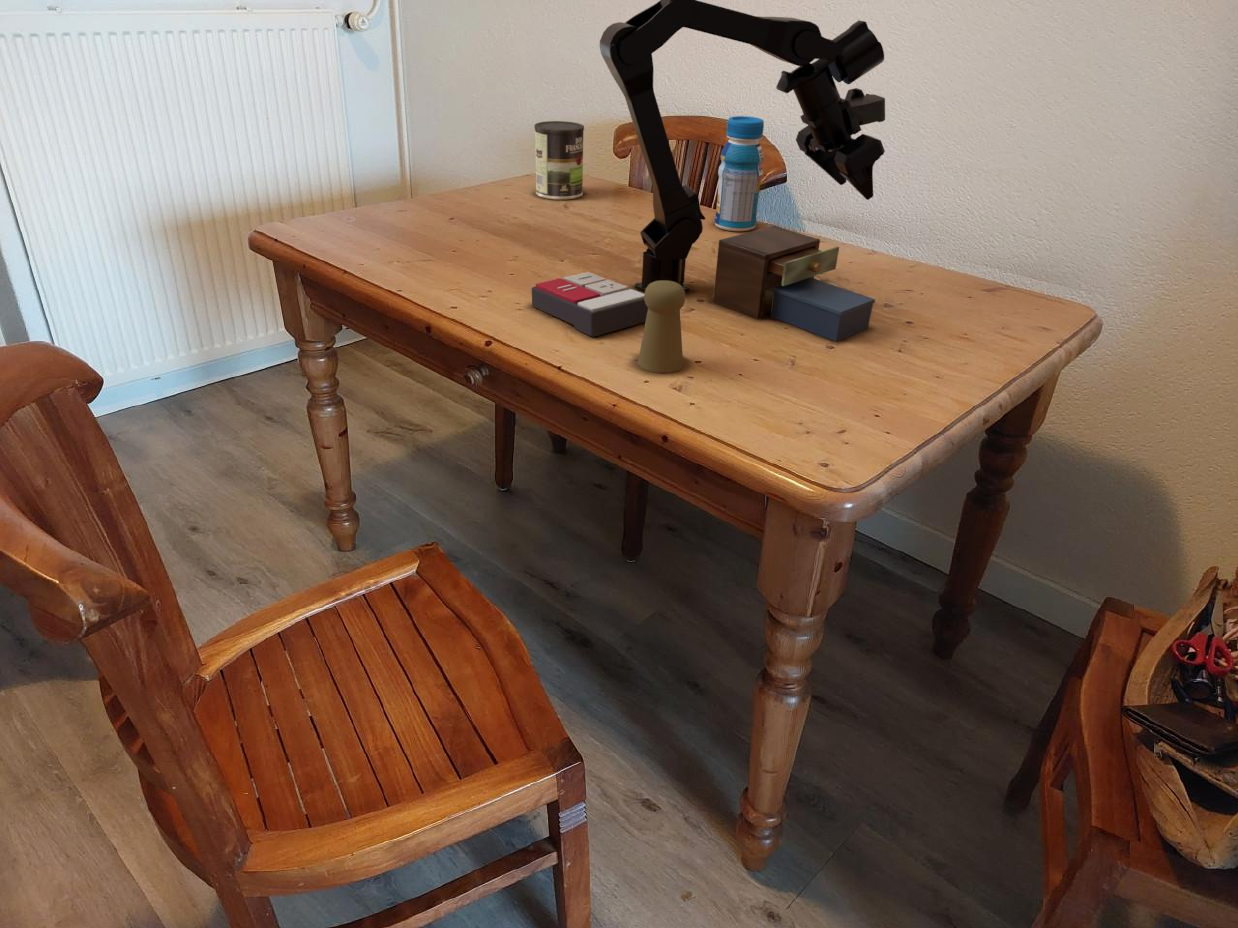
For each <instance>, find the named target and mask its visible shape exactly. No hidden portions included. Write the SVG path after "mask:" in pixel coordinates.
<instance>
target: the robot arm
mask: <svg viewBox="0 0 1238 928" xmlns="http://www.w3.org/2000/svg"><path fill="white" fill-rule="evenodd" d="M683 28H686V29H689V30H694V31H698V32H701V33H706V34H709V35H713V36H717V37H721V38H725V39H728V40H733V41H736V42H740V43H744V44H748V45H750V46H751V47H754V48H756V49H758V50H759V51H761V52H763V53H764V54H767V55H769V56H771V57H773V58H775V59H777V60H780V61H781V62H785V63H787V64H791V65H794V66H797V67H796V68H795V69H793V70H792V71H786V70H781V73H780V78H779V79H778V82H777V84H776V87H775V89H776V90H777V91H780V92H782V93H785V94H789V93H791V92H792V91H793V92H794V95H795V97H796V100H797V101H798V104H799V107H800V109H801V111H802V114H801V115H800V119H801V122H802V123H803V124H805V125H806V126H805V127H803V128H801V130H799V131H798V132H797V135H796V138H795V141H796V144H797V146H798V148H799V150H800V151H801V152H803V153H804V155H805V156H806V157H808V158H809V159H810V160H811V161H812V162H813V163H815V165H817V167H819V168H820V169H822V170H823V171H824V172H825V173H826V174H827V175H828V176H829V177H831V178H832V179H833V180H834V181H835V182H836V183H837V184H838V185H840V186H843V185H845V184H846V183H847V182H848V183H849V184H850V185H851V186H852V187H853V188H854V189H855V190H856V191H857V192H858V193H859V194H860V195H861V196H862V197H863V198H864V199H865V200H867V201H869V200H870V199H872V198H873V197H874V177H873V175H874V173H873V172H874V165H875V163H876V162H877V161H878V160H880V159H881V157H882V156H883V155H885V151H886V150H885V148H884V144H883V142H882V140H881V139H878V138H876V137H874V136H872V135H868V134H865V133H862V134H860V135H859V136H856V138H853V137H852V136H853V135H857V134H858V133H860V132H861V131H862V127H861V126H865V125H870V124H872V123H882V122H884V121H886V98H885V97H883V96H880V95H877V94H873V93H872V94H870V93H864V91H863V89H860V88H857V87H855V88H851V89H848V90H847V92H846V95H845V97H844V98H842V97H841V95H840V93H839V89H838V88H837V85H836V83H835V81H836V82H837V83H841V82H843V83H844V84H846V85H851V84H852V83H854V82H855V81H857V80H858V79H860V78H862V77H863V76H864V75H866V74H867V73H869V72H870V71H871V70H873V69H875V68H876V67H878V66H879V65H880V64H882V63H883V62H884V60H885V51H884V47H883V45H882V43H881V41H879V39H878V38H877V37H876V34H874V33H873V31H872V30H871V29H870V28H869V27H868V23H867V21H864V20H857V21H856V22H854V23H853V24H851V25H850V26H849V27H848V28H847V29H846V30H845V31H843V32H842V33H840V34H839V35H837V36H836V37H835V38H833V39H830V38H826V37H824V36H822V33H821V29H820V27H819V26H818V24H816V23H814V22H812V21H810V20H804V19H799V18H795V17H787V16H757V15H752V14H749V13H745V12H741V11H739V10H738V11H737V10H734V9H730V8H726V7H723V6H720V5H715V4H713V3H708V2H704V1H700V0H658V1H657V2H656V3H654V4H653V5H651V6H649V7H648V8H645V9H643V10H642V11H640V12H638V13H637V14H635V15H633V16H632V17H631V18H629V19H628V20H627V21H625V22H621V21H618V22H614V23H611V24H610V25H609V26H607V27H606V28H605V30H604V31H603V33H602V35H601V37H600V39H599V51H600V54H601V56H602V59H603V60H604V62H605V64H606V66H607V69H608V70H609V72H610V74H611V76H612V78H613V80H614V81H615V83H616V84H617V86H618V87H619V89H620V91H621V93H622V95H623V96H624V99H625V102H626V106H627V109H628V111H629V112H628V113H629V114H630V115H629V116H630V118H631V121H632V124H633V127H634V131H635V133H636V138H637V140H638V144H639V147H640V149H641V150H640V151H641V154H642V156H643V159H644V162H645V166H646V169H647V173H648V175H649V178H650V182H651V184H652V207H653V214H654V215H653V216H654V218H652V220H651V221H650V222H649V223H648V224H646V225H645V226H644V228H643V229H642V230H640V237H641V240H642V243H643V245H644V246H646V247H647V248H646V249H645V251H642V269H641V271H642V272H641V282H638V283H635V284H634V288H635V289H637V290H640V291H642V292H645V290H646V288H647V286H648V285H649V284H650V283H652V282H655V281H662V280H665V281H673V282H676V283H678V284H680V285H681V286H682V287H683V289H684V291H685V292H688V291H690V290H691V289H690V286H688V285H685V284H684V283H685V273H686V262H687V261H686V260H687V258H688V256H689V254H690V251H691V249H692V247H693V245H694V244H695V243H696V242H697V241H698V240H699V238H700V237H701V234H702V233H703V229H704V228H703V227H704V226H703V221H702V220H704V221H705V220H706V217H705V215H704V214H703V213H702V209H701V206H700V205H701V204H700V198H699V194H698V193H697V192H696V191H695V190H694V189H692V188H691V187H690V186H689V185H688V184H684V185H682V182H681V180H680V175H679V171H678V169H677V166H676V162H675V159H674V156H673V152H672V149H671V145H670V142H669V139H668V134H667V131H666V127H665V125H664V122H663V118H662V115H661V111H660V108H659V105H658V104H659V103H658V101H657V98H656V95H655V90H654V71H655V69H654V60H653V53H654V52H656V51H658V50H659V49H660V48H661V47H663V46H664V45H665V44H666V43H667V42H668V41H669V40H670V39H671V38H672V37H673V36H674V35H675V34H677V32H678V31H680V30H681V29H683Z"/></svg>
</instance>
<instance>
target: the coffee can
mask: <svg viewBox="0 0 1238 928" xmlns="http://www.w3.org/2000/svg"><path fill="white" fill-rule="evenodd" d="M584 131H585V125H584V124H581V123H578V122H574V121H562V120H549V121H540V122H536V123H535V124H534V133H535V134H534V135H535V136H534V137H535V138H534V139H535V140H534V142H535V143H534V145H535V146H534V148H535V150H534V151H535V195H536V196H538V197H540V198H542V199H547V200H557V201H558V200H559V201H565V200H574V199H578V198H580V197H583V195H584V192H583V191H584V189H583V181H584V178H583V177H584Z"/></svg>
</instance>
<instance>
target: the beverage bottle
mask: <svg viewBox="0 0 1238 928" xmlns="http://www.w3.org/2000/svg"><path fill="white" fill-rule="evenodd" d="M764 127H765V121H764V119H762V118H759V117H754V116H745V115H738V116H729V117H728V119H727V123H726V138H728V141H727V142H726V143H725V145H723V148H722V150H721V152H720V155H719V156H720V160H721V163H720V165H719V167H718V170H717V175H718V185H717V186H718V187H717V196H716V197H717V198H716V208H715V215H714V225H715V226H716V227H717V228H719V229H721V230H725V231H730V232H748V231H749V232H750V231H753V230H754V229H755V228H756V226H757V214H758V205H759V197H760V189H761V181H762V180H761V179H762V178H763V175H764V170H763V167H762V164H763V162H764V159H765V155H764V150H763V148H762V146H761V143H760V142H759V141H760V140H762V138H763V136H764V135H763V134H764Z"/></svg>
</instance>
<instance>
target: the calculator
mask: <svg viewBox="0 0 1238 928" xmlns="http://www.w3.org/2000/svg"><path fill="white" fill-rule="evenodd" d="M644 296H645V293H643V292H641V291H638V290H635V289H633V288H629V286H628V285H624V284H622V283H619V282H616V281H615V280H614V281H613V280H612V279H607V278H606V277H603V276H600V275H597V274H595V273H592V272H589V271H585V272H581V273H577V274H573V275H572V274H571V275H569V276H568V275H567V276H564V277H563V278H555V279H551V280H547V281H543V282H537V283H535V286H533V287H531V304H532V305H531V306H532V308H535V309H537V310H539V311H542V312H544V313H546V314H549V315H550V316H554V317H556V318H558V319H559V320H562V321H565V322H567V323H569V324H571V325H573V326H574V329H576V331H578V332H580V333H583V334H585V335H587V336H590V337H592V338H593V337H594V338H595V337H598V336H601V335H605V334H609V333H612V332H615V331H619V330H623V329H625V328H629V327H632V326H633V327H634V326H636V325H640V324H645V322H646V317H647V312H648V307H647V305H646V304H645V300H644Z"/></svg>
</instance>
